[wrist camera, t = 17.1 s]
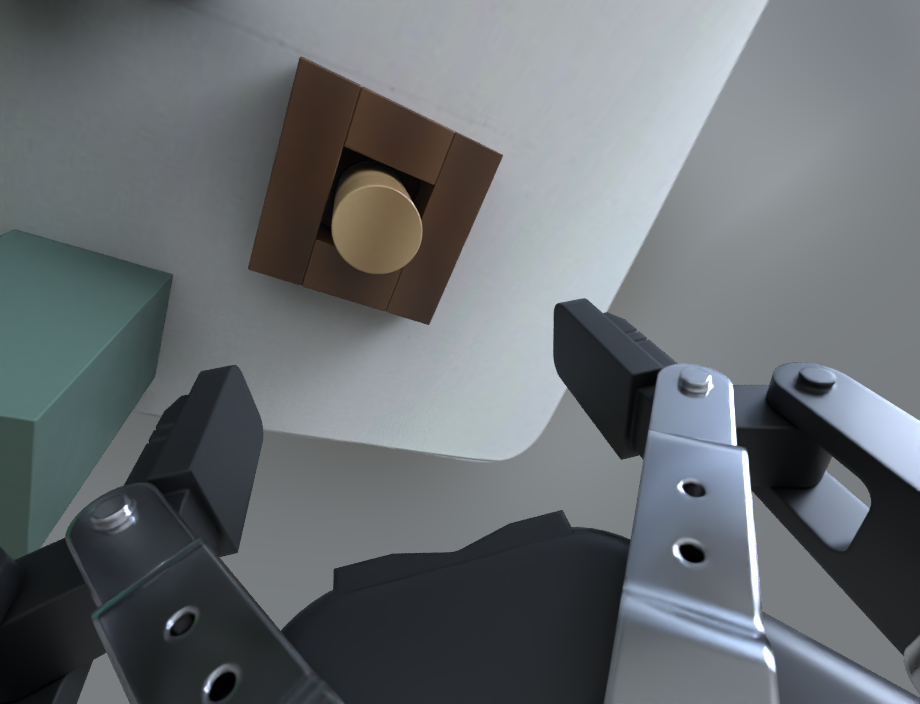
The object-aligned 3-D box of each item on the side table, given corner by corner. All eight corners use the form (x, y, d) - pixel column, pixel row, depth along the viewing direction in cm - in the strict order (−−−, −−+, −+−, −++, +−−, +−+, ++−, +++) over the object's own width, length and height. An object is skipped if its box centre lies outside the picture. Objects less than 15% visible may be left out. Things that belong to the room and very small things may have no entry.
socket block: (259, 248, 29) (247, 270, 26) (306, 60, 25) (299, 55, 21) (420, 301, 33) (429, 325, 30) (485, 147, 29) (503, 155, 26)
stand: (11, 346, 29) (-251, 548, 16) (15, 229, 26) (-306, 365, 13) (155, 376, 32) (28, 567, 19) (173, 274, 29) (35, 420, 16)
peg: (326, 218, 29) (320, 258, 22) (347, 149, 27) (347, 169, 21) (391, 242, 31) (404, 285, 24) (415, 178, 29) (436, 205, 22)
